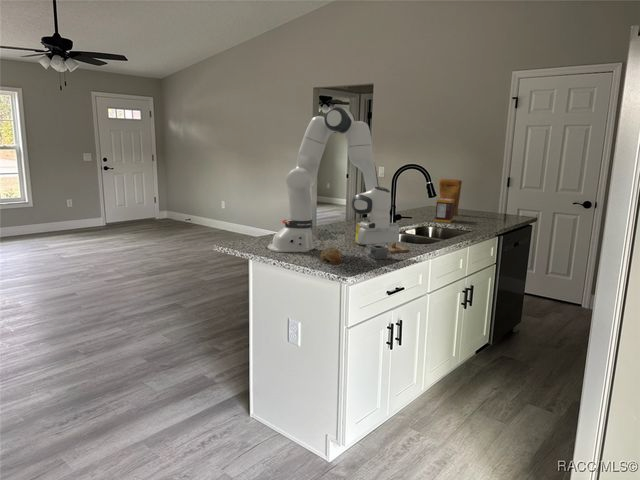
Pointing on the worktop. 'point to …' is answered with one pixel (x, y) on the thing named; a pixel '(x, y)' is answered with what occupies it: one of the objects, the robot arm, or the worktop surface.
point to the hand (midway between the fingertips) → (377, 253)
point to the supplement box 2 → (444, 210)
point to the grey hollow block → (379, 252)
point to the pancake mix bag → (450, 191)
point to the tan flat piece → (396, 249)
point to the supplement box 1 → (357, 233)
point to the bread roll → (331, 256)
